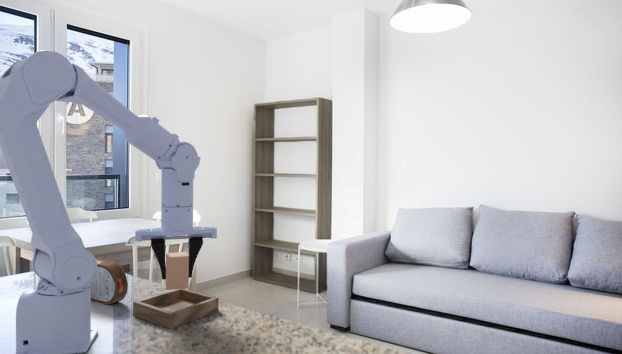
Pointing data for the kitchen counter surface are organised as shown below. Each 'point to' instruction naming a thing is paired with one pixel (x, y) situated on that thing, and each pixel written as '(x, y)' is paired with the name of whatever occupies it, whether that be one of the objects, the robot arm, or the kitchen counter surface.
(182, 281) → the block
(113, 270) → the tin
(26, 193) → the robot arm
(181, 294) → the tray
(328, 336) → the kitchen counter surface
